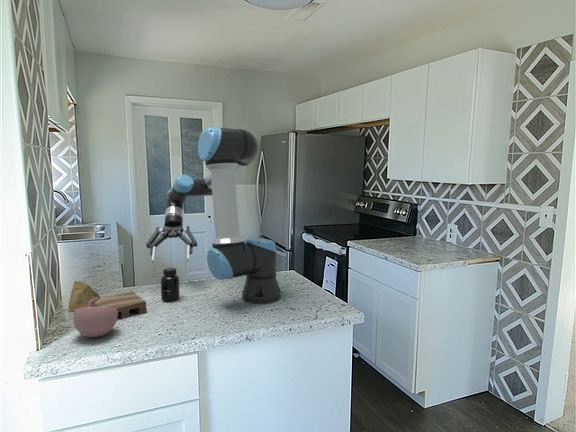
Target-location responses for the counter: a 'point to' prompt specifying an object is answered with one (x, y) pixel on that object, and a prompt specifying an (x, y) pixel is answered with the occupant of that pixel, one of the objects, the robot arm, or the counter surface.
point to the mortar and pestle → (94, 319)
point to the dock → (123, 303)
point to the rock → (81, 296)
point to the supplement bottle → (170, 285)
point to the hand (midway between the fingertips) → (170, 261)
